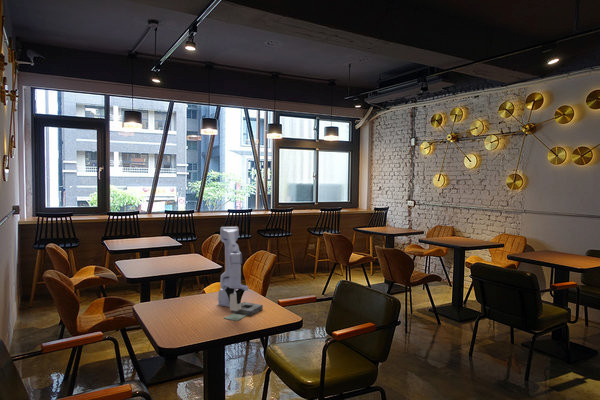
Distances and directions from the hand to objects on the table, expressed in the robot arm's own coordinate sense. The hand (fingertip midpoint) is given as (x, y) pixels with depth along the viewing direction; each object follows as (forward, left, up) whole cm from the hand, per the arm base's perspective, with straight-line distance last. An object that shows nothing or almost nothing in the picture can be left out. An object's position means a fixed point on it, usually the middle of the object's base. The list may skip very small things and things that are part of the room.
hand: (235, 302), depth 204 cm
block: (0, 0, -3) cm, 4 cm away
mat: (0, 0, -8) cm, 8 cm away
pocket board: (0, +12, -8) cm, 14 cm away
